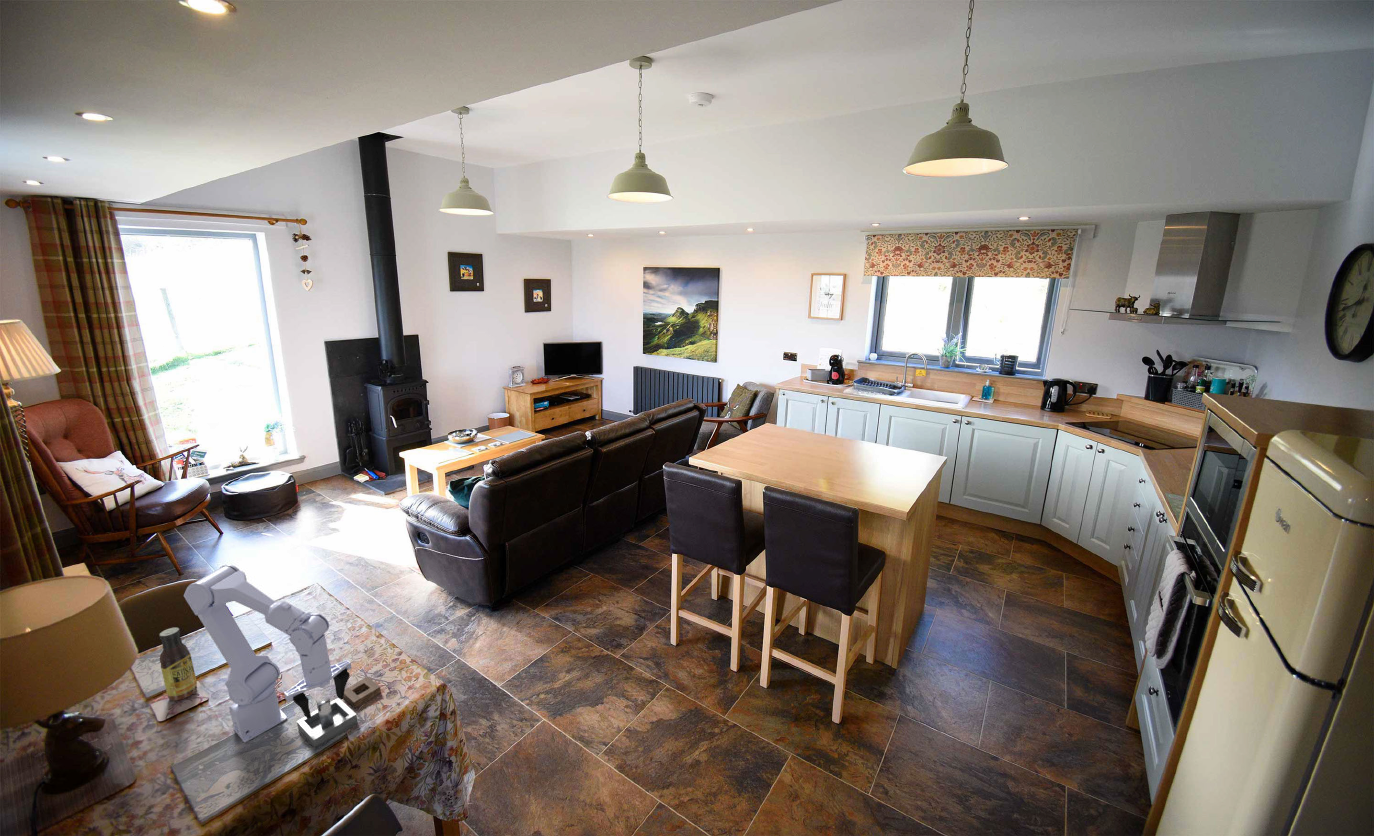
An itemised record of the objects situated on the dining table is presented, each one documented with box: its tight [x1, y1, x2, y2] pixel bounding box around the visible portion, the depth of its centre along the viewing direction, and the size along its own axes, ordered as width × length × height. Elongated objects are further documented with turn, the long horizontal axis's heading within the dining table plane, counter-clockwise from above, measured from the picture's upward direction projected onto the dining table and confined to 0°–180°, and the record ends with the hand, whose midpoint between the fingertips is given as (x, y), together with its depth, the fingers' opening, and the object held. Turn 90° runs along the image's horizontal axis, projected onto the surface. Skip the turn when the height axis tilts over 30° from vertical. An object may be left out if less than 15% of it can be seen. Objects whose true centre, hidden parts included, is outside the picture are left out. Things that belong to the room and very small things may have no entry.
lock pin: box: [316, 697, 334, 729], centre depth 141 cm, size 3×3×7 cm
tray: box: [296, 697, 359, 751], centre depth 142 cm, size 10×10×3 cm
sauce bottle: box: [159, 627, 198, 702], centre depth 150 cm, size 7×6×20 cm
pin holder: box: [343, 676, 382, 709], centre depth 152 cm, size 7×7×2 cm
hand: (324, 706), depth 140 cm, fingers open, 7 cm apart
